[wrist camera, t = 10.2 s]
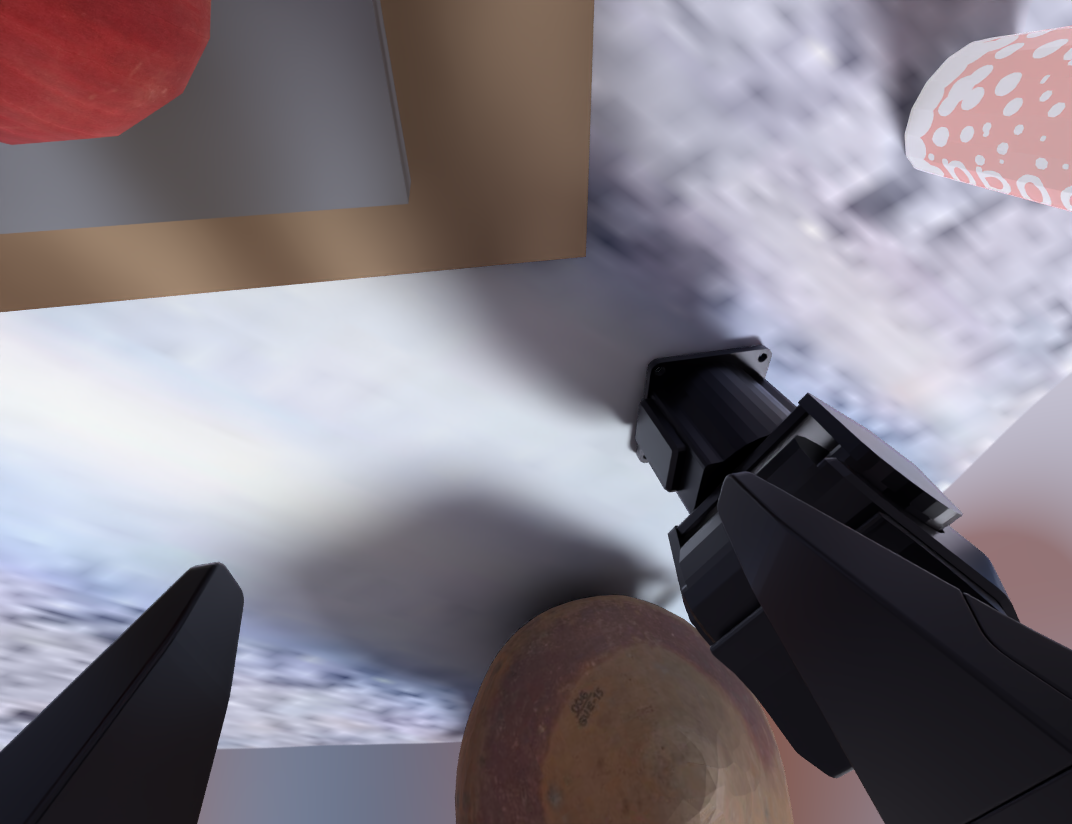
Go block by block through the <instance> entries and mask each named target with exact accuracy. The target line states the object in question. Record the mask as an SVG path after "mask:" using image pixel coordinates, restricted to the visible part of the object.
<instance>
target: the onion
mask: <svg viewBox="0 0 1072 824" xmlns="http://www.w3.org/2000/svg"><path fill="white" fill-rule="evenodd" d="M210 16H211V0H0V142H2V143H6V144H10V145H17V144H30V143H42V142H54V141H66V140H78V139H90V138H101V137H112V136H119V135H120V134H122V133H123V132H125V131H126V130H128V129H129V128H131V127H132V126H134V125H135V124H137V123H138V122H140V121H141V120H143V119H144V118H146V117H148V116H149V115H151V114H152V113H154V112H155V111H157V110H158V109H160V108H161V107H163V106H164V105H166V104H167V103H169V102H170V101H172V100H173V99H175V98H176V97H178V96H179V95H181V94H182V93H183V91H184V89H185V87H186V85H187V83H188V81H189V79H190V77H191V75H192V73H193V71H194V69H195V67H196V65H197V63H198V61H199V59H200V57H201V55H202V53H203V51H204V49H205V47H206V45H207V43H208V41H209V39H210Z"/></svg>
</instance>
